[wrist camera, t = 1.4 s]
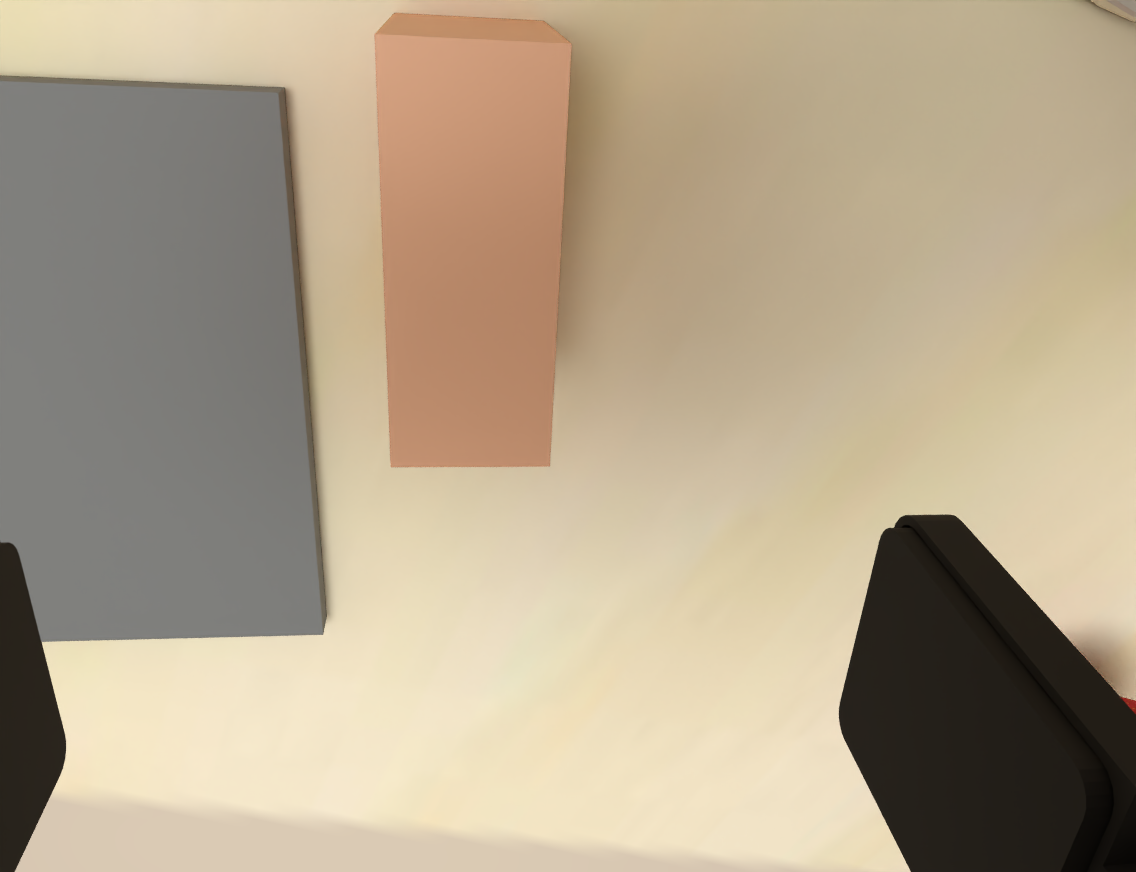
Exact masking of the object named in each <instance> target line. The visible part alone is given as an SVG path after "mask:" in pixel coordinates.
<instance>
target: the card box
mask: <svg viewBox="0 0 1136 872" xmlns="http://www.w3.org/2000/svg"><path fill="white" fill-rule="evenodd" d="M571 46H572V44H571V43H570V42H569V41H568V40H566V39H565V38H564V37H563V36H561V35H560V34H559V33H558V32H557V31H555V30H554V29H553V28H552V27H550V26H549V25H548V24H547V23H546V22H544V21H537V20H517V19H498V18H479V17H460V16H441V15H422V14H403V13H394V14H393V15H392V16H391V17H390V18H389V19H388V20H387V21H386V22H385V24H384V25H383V26H382V27H381V28H380V29H379V30H378V31H377V32H376V33H375V56H376V83H377V110H378V137H379V164H380V191H381V218H382V245H383V272H384V299H385V326H386V352H387V379H388V406H389V433H390V460H391V467H522V466H550V452H551V433H552V413H553V394H554V375H555V355H556V336H557V317H558V297H559V278H560V259H561V239H562V220H563V201H564V181H565V162H566V143H567V123H568V104H569V85H570V65H571Z"/></svg>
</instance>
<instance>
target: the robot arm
mask: <svg viewBox="0 0 1136 872" xmlns="http://www.w3.org/2000/svg"><path fill="white" fill-rule="evenodd" d="M1091 1H1092V2H1094V3H1095V4H1096V5H1097V6H1099V7H1101V8H1103V9H1105V10H1108V11H1110V12H1112V13H1114V14H1117V15H1119V16H1121V17H1123V18H1125V19H1128V20H1130V21H1133V22H1136V0H1091ZM839 721H840V727H841V731H842V734H843V737H844V739H845V741H846V743H847V745H848V747H849V749H850V751H851V753H852V755H853V757H854V759H855V761H856V763H857V765H858V767H859V769H860V771H861V773H862V775H863V777H864V779H865V781H866V783H867V785H868V787H869V789H870V791H871V793H872V795H873V797H874V799H875V801H876V803H877V805H878V807H879V809H880V811H881V813H882V815H883V817H884V819H885V821H886V823H887V825H888V827H889V829H890V831H891V833H892V835H893V837H894V839H895V841H896V843H897V845H898V847H899V849H900V851H901V853H902V855H903V857H904V859H905V861H906V863H907V865H908V867H909V869H910V871H911V872H1136V714H1135V713H1134V712H1133V711H1132V709H1131V708H1130V707H1129V706H1128V705H1127V704H1126V703H1125V702H1124V701H1123V699H1122V698H1121V697H1120V696H1119V695H1118V694H1117V693H1116V692H1115V691H1114V690H1113V688H1112V687H1111V686H1110V685H1109V684H1108V683H1107V682H1106V681H1105V680H1104V678H1103V677H1102V676H1101V675H1100V674H1099V673H1098V672H1097V671H1096V670H1095V668H1094V667H1093V666H1092V665H1091V664H1090V663H1089V662H1088V661H1087V660H1086V658H1085V657H1084V656H1083V655H1082V654H1081V653H1080V652H1079V651H1078V650H1077V649H1076V647H1075V646H1074V645H1073V644H1072V643H1071V642H1070V641H1069V640H1068V639H1067V637H1066V636H1065V635H1064V634H1063V633H1062V632H1061V631H1060V630H1059V629H1058V627H1057V626H1056V625H1055V624H1054V623H1053V622H1052V621H1051V620H1050V619H1049V617H1048V616H1047V615H1046V614H1045V613H1044V612H1043V611H1042V610H1041V609H1040V608H1039V606H1038V605H1037V604H1036V603H1035V602H1034V601H1033V600H1032V599H1031V598H1030V596H1029V595H1028V594H1027V593H1026V592H1025V591H1024V590H1023V589H1022V588H1021V586H1020V585H1019V584H1018V583H1017V582H1016V581H1015V580H1014V579H1013V578H1012V576H1011V575H1010V574H1009V573H1008V572H1007V571H1006V570H1005V569H1004V568H1003V567H1002V565H1001V564H1000V563H999V562H998V561H997V560H996V559H995V558H994V557H993V555H992V554H991V553H990V552H989V551H988V550H987V549H986V548H985V547H984V545H983V544H982V543H981V542H980V541H979V540H978V539H977V538H976V537H975V535H974V534H973V533H972V532H971V531H970V530H969V529H968V528H967V527H966V525H965V524H964V523H963V522H962V521H961V520H960V519H958V518H957V517H956V516H954V515H905V516H903V517H901V518H899V520H898V521H897V522H896V524H895V527H894V528H888V529H886V530H885V531H884V532H883V533H882V535H881V538H880V541H879V545H878V549H877V553H876V557H875V561H874V565H873V569H872V574H871V578H870V582H869V586H868V590H867V594H866V598H865V602H864V606H863V610H862V615H861V619H860V623H859V627H858V631H857V635H856V639H855V643H854V647H853V651H852V656H851V660H850V664H849V668H848V672H847V676H846V680H845V684H844V688H843V692H842V697H841V701H840V706H839ZM65 754H66V739H65V733H64V729H63V725H62V721H61V717H60V713H59V709H58V705H57V702H56V698H55V694H54V690H53V686H52V682H51V678H50V674H49V670H48V666H47V662H46V658H45V654H44V650H43V646H42V642H41V639H40V635H39V631H38V627H37V623H36V619H35V615H34V611H33V607H32V603H31V599H30V595H29V591H28V587H27V583H26V579H25V576H24V572H23V568H22V564H21V560H20V556H19V553H18V551H17V548H16V547H15V546H14V545H13V544H11V543H9V542H2V543H1V542H0V872H15V870H16V868H17V865H18V863H19V861H20V859H21V857H22V855H23V853H24V851H25V849H26V846H27V844H28V842H29V840H30V838H31V836H32V834H33V832H34V830H35V827H36V825H37V823H38V821H39V819H40V817H41V815H42V813H43V810H44V808H45V806H46V804H47V802H48V800H49V798H50V796H51V794H52V791H53V789H54V787H55V785H56V783H57V781H58V779H59V777H60V774H61V772H62V769H63V765H64V761H65Z"/></svg>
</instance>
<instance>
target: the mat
mask: <svg viewBox="0 0 1136 872" xmlns="http://www.w3.org/2000/svg"><path fill="white" fill-rule="evenodd" d="M0 542H1V543H2V542H9V543H11V544H13V545H14V546H15V547H16V548H17V551H18V553H19V556H20V560H21V564H22V568H23V572H24V576H25V579H26V583H27V587H28V591H29V595H30V599H31V603H32V607H33V611H34V615H35V619H36V623H37V627H38V631H39V635H40V639H41V642H49V641H89V640H129V639H169V638H209V637H249V636H289V635H323V633H324V628H325V622H326V617H327V615H326V603H325V590H324V578H323V565H322V552H321V540H320V527H319V515H318V502H317V490H316V477H315V465H314V452H313V439H312V427H311V414H310V402H309V389H308V377H307V364H306V352H305V339H304V326H303V314H302V301H301V289H300V276H299V264H298V251H297V239H296V226H295V213H294V201H293V188H292V176H291V163H290V151H289V138H288V126H287V113H286V100H285V88H279V87H256V86H232V85H209V84H185V83H161V82H138V81H114V80H91V79H67V78H43V77H20V76H0Z"/></svg>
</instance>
